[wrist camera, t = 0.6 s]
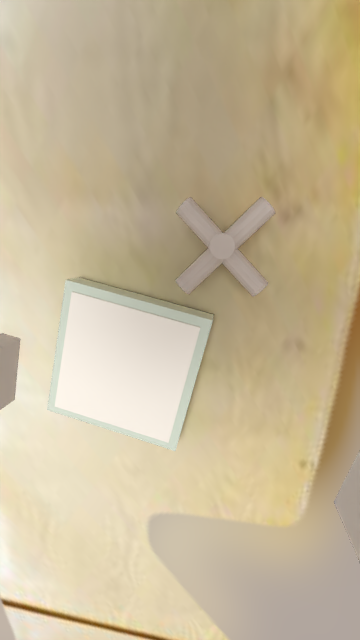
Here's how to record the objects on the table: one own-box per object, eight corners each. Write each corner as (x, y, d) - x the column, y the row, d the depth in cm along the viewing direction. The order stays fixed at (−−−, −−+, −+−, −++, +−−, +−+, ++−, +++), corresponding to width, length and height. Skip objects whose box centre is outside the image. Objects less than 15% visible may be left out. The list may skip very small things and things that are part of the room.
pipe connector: (292, 250, 29) (327, 248, 19) (219, 314, 31) (217, 341, 22) (226, 175, 28) (227, 134, 19) (156, 247, 31) (126, 244, 21)
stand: (79, 277, 33) (64, 279, 30) (213, 314, 31) (212, 321, 28) (61, 397, 37) (45, 411, 34) (179, 435, 36) (174, 452, 32)
